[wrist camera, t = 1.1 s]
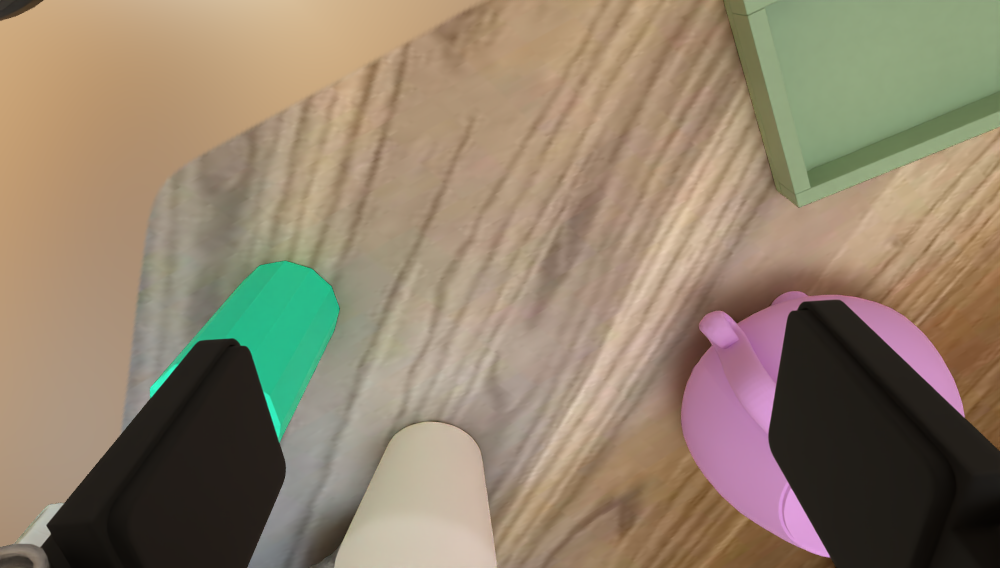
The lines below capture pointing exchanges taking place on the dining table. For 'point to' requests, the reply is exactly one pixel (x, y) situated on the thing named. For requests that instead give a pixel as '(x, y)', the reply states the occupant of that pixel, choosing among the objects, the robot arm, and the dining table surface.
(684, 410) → the teapot
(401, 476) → the cup
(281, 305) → the candle
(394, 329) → the dining table surface
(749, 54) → the tray
